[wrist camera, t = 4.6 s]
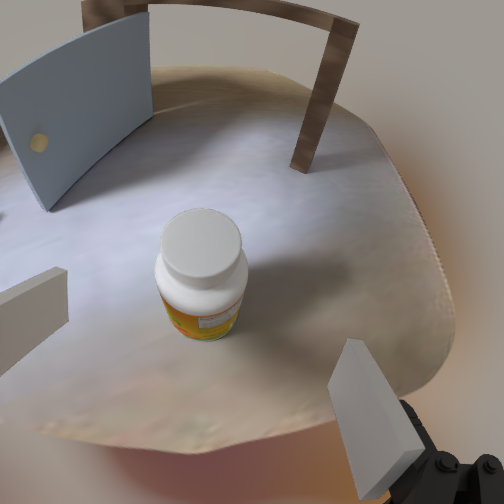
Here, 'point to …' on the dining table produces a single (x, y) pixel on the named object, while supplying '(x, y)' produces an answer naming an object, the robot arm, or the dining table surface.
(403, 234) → the dining table surface
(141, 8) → the door frame
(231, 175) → the dining table surface
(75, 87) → the door
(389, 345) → the dining table surface
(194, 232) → the supplement bottle
